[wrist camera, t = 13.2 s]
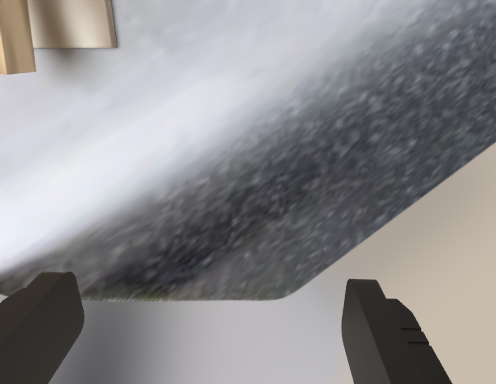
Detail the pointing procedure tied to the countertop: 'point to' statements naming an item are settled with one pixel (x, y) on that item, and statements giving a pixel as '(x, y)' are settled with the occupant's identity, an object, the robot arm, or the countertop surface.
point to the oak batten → (15, 38)
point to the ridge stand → (72, 24)
